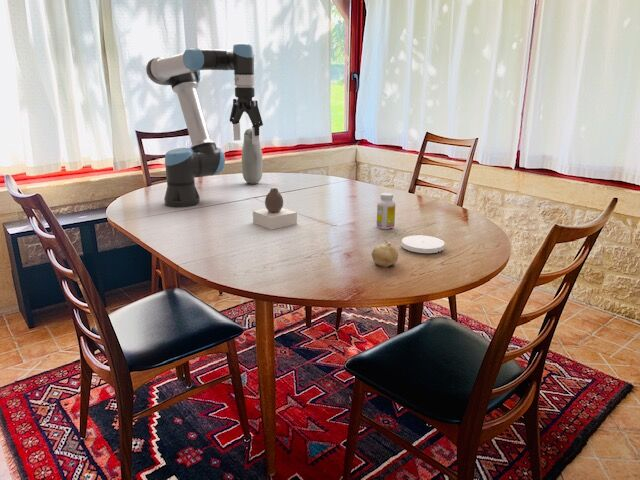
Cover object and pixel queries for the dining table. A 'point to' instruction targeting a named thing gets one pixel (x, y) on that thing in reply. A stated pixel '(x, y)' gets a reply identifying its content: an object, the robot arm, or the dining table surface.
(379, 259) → the onion
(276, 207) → the vase
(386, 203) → the supplement bottle
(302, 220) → the dining table surface
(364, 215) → the dining table surface
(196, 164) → the robot arm
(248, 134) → the grey-green rounded cylinder
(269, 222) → the riser block
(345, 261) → the dining table surface
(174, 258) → the dining table surface
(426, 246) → the plastic lid
